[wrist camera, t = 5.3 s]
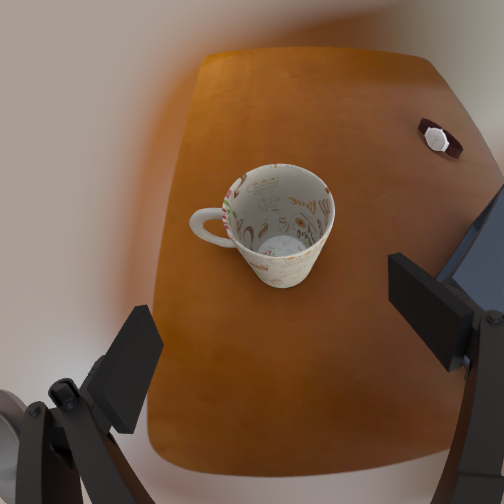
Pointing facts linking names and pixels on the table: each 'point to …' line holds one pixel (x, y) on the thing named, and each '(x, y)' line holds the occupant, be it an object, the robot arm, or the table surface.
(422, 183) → the table surface
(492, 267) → the shelf
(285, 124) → the table surface
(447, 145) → the watch
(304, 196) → the mug
